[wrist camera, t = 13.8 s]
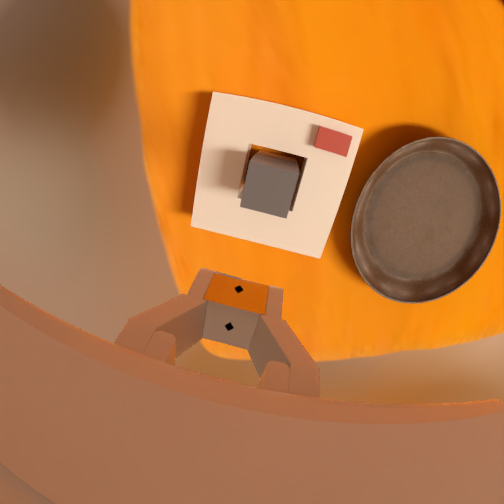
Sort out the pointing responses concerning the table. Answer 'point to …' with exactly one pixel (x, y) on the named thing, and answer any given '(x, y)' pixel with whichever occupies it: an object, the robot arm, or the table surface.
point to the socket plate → (283, 139)
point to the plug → (270, 183)
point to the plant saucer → (425, 220)
